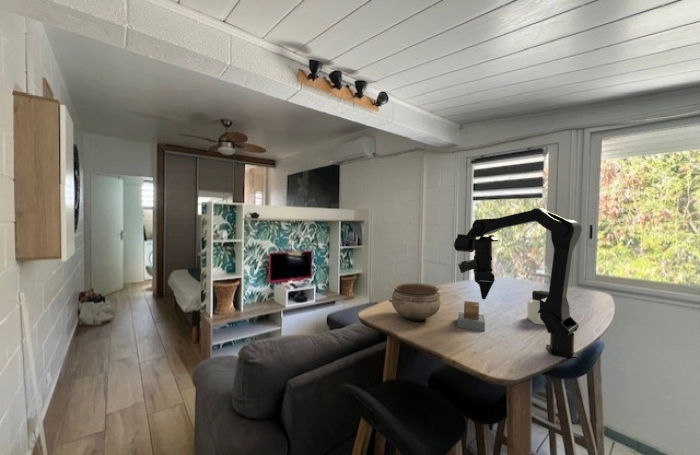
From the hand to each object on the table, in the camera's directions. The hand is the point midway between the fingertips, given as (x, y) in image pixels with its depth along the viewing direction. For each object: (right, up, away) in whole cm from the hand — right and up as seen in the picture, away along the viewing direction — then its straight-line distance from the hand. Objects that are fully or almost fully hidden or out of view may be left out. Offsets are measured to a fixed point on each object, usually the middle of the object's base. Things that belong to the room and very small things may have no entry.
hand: (483, 296), depth 106 cm
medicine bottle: (+25, -12, +6) cm, 29 cm away
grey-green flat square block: (-3, -11, +2) cm, 12 cm away
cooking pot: (-23, -11, +9) cm, 27 cm away
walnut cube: (-3, -8, +2) cm, 9 cm away
